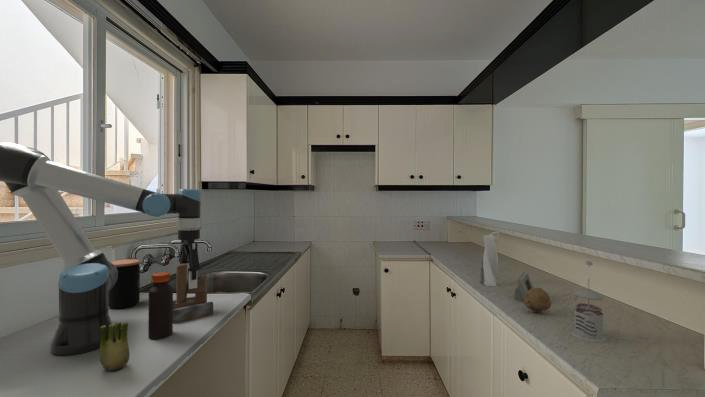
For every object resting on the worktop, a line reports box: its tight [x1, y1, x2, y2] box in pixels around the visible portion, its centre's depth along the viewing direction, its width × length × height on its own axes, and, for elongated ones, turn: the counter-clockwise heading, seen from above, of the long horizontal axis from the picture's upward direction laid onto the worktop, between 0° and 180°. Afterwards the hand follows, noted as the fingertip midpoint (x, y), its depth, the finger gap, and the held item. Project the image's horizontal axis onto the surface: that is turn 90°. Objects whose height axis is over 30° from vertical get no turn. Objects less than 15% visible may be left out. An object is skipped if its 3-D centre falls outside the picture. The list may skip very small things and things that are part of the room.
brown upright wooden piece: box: [175, 263, 208, 309], centre depth 124 cm, size 4×11×18 cm, turn 103°
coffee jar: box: [108, 258, 141, 310], centre depth 133 cm, size 11×11×18 cm
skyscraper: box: [479, 231, 500, 288], centre depth 168 cm, size 8×8×28 cm
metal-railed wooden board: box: [173, 295, 214, 324], centre depth 124 cm, size 14×13×4 cm
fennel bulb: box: [99, 321, 130, 372], centre depth 85 cm, size 6×5×12 cm
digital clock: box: [514, 272, 534, 302], centre depth 146 cm, size 16×9×11 cm, turn 132°
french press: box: [564, 260, 608, 344], centre depth 108 cm, size 10×12×25 cm
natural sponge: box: [523, 287, 552, 314], centre depth 128 cm, size 9×9×10 cm
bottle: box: [147, 271, 174, 340], centre depth 105 cm, size 7×7×20 cm
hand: (188, 284), depth 124 cm, fingers open, 13 cm apart
